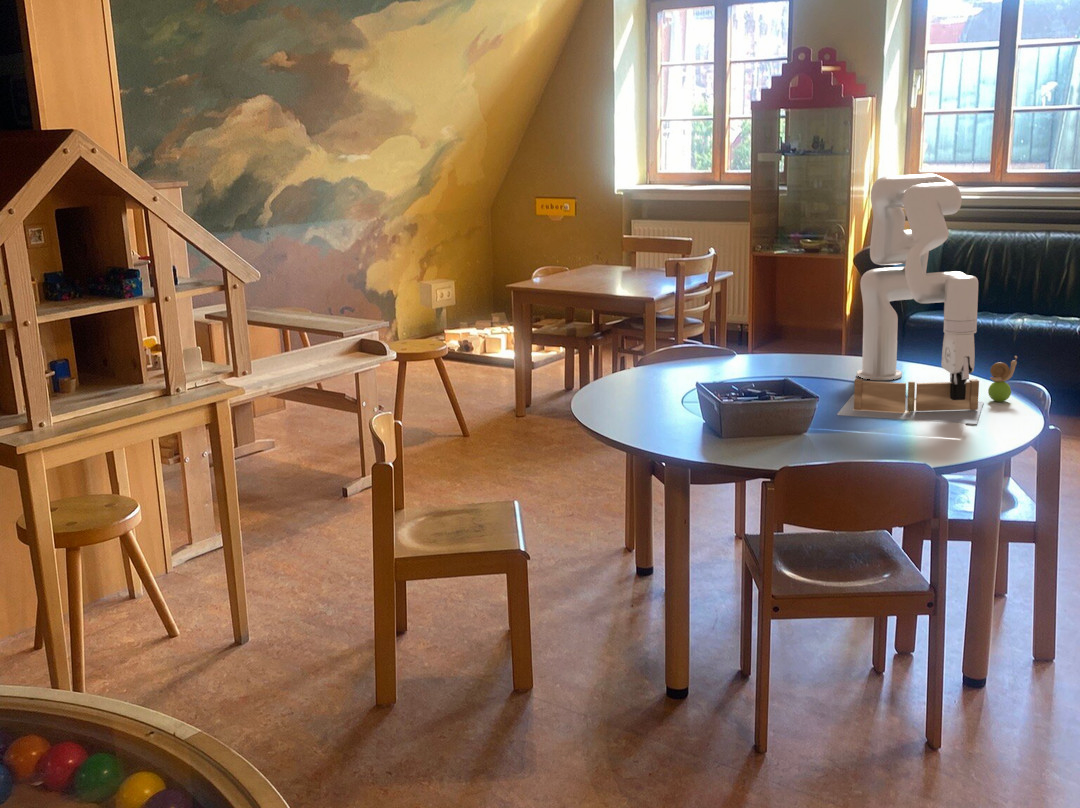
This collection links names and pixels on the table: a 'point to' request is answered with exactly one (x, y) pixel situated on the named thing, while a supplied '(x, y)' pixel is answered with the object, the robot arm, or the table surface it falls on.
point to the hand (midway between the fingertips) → (957, 399)
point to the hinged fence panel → (941, 397)
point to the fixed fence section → (879, 396)
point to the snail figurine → (1001, 381)
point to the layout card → (916, 414)
